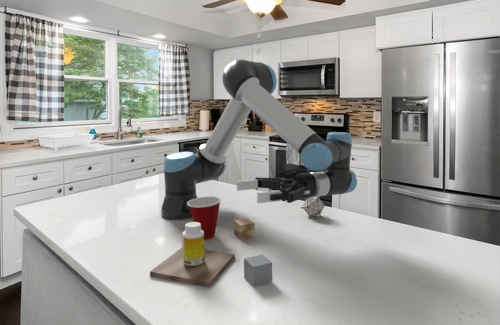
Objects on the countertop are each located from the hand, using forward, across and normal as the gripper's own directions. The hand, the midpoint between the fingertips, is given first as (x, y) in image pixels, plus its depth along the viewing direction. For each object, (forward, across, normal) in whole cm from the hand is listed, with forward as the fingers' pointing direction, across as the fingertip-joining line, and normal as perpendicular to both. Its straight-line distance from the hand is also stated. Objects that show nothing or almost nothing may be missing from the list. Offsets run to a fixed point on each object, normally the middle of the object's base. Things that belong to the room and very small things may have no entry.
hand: (246, 191), depth 94 cm
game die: (-36, +18, -18) cm, 44 cm away
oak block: (-5, +11, -18) cm, 22 cm away
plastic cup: (+7, +17, -18) cm, 26 cm away
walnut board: (+16, -2, -18) cm, 24 cm away
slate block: (+4, -15, -18) cm, 24 cm away
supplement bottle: (+16, -2, -17) cm, 23 cm away
